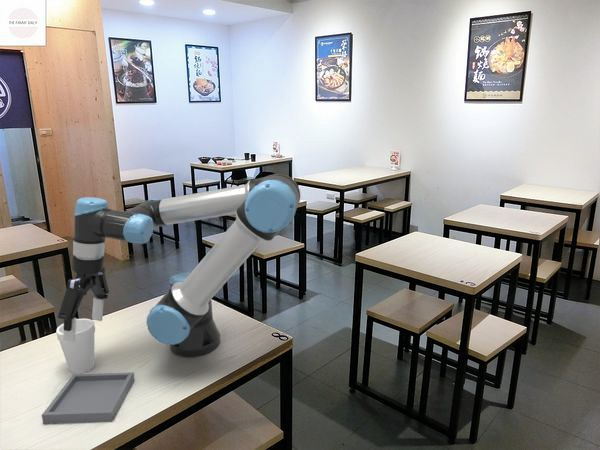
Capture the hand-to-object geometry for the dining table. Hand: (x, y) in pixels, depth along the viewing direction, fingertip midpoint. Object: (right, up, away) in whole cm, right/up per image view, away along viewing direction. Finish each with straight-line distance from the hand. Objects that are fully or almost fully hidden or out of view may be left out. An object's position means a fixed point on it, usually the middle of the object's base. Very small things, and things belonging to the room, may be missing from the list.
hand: (83, 329), depth 119 cm
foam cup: (-3, -12, +5) cm, 13 cm away
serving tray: (+7, -16, -10) cm, 20 cm away
